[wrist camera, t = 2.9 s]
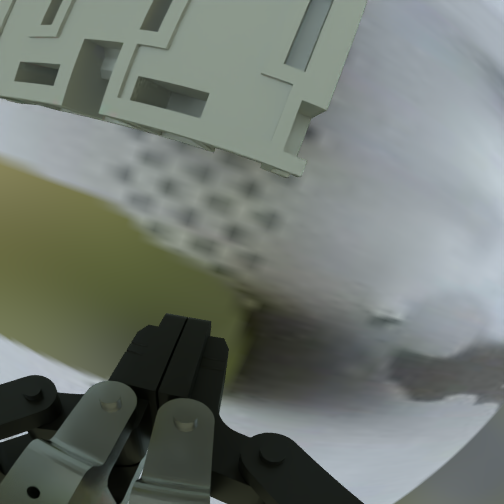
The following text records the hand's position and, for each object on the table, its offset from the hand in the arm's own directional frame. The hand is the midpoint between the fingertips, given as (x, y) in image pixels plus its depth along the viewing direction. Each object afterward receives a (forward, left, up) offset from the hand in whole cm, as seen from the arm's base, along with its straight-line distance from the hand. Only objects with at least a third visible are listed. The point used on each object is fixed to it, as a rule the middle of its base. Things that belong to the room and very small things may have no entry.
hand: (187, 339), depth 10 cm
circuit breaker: (-14, 0, -11) cm, 18 cm away
